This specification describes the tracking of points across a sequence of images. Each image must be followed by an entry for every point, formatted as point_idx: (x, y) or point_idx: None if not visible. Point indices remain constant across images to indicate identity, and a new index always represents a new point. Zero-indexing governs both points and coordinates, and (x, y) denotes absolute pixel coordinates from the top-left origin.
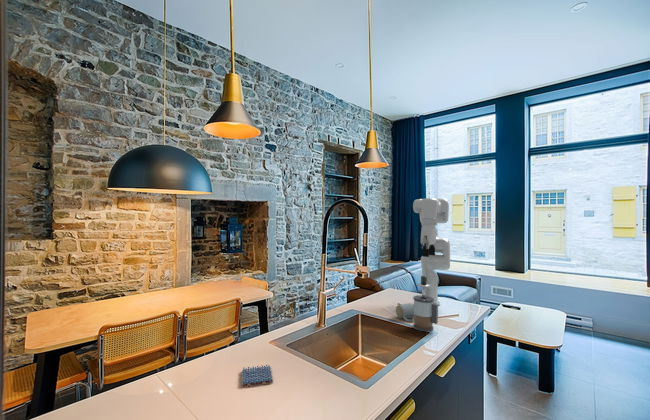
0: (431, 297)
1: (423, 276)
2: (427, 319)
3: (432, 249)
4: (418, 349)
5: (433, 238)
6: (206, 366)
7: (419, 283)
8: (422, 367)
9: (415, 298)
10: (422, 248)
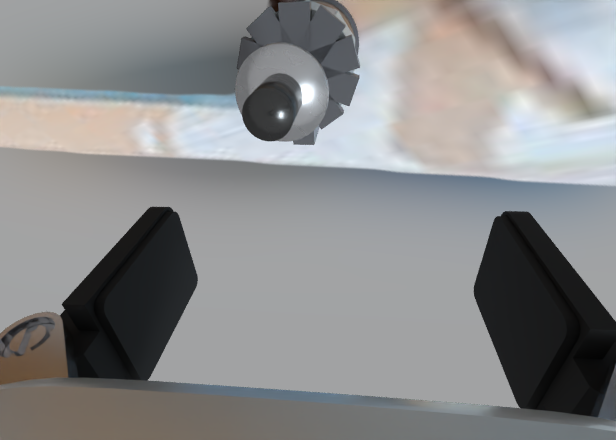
0: (347, 105)
1: (262, 114)
2: None
3: (520, 353)
4: (137, 106)
5: None
6: None
7: (284, 55)
8: (69, 151)
9: (250, 34)
10: (41, 317)
